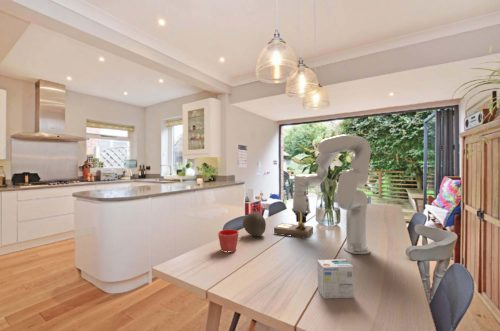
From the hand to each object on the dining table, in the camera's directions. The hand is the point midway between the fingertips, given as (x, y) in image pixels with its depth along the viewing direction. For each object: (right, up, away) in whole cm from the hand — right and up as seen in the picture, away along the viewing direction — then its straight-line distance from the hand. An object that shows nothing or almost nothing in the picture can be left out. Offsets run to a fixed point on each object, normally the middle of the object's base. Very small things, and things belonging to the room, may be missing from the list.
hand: (301, 221), depth 151 cm
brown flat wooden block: (-4, -8, +3) cm, 10 cm away
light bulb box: (-4, -8, -70) cm, 71 cm away
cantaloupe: (-30, -9, -3) cm, 31 cm away
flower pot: (-45, -9, -27) cm, 53 cm away
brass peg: (0, -6, 0) cm, 6 cm away
